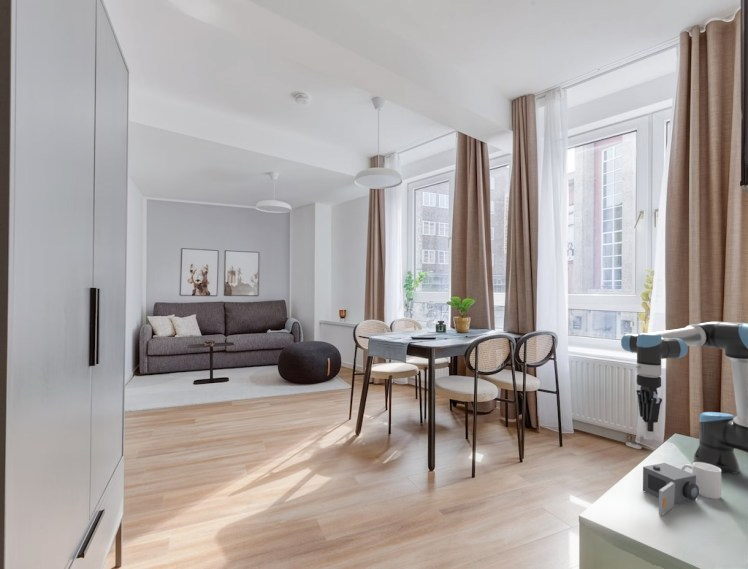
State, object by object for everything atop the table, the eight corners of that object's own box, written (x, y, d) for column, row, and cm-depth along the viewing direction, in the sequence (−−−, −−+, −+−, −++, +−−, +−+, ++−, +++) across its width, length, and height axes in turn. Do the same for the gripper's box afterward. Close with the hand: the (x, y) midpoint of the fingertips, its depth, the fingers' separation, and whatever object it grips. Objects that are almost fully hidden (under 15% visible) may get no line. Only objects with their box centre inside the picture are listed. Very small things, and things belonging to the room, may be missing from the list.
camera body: (664, 486, 155) (664, 460, 155) (702, 503, 142) (703, 475, 142) (642, 490, 150) (642, 464, 150) (680, 508, 138) (680, 480, 138)
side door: (658, 514, 134) (658, 490, 134) (671, 504, 140) (671, 481, 140) (664, 516, 132) (664, 492, 132) (676, 506, 139) (677, 483, 139)
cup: (717, 501, 144) (717, 473, 144) (677, 488, 153) (677, 461, 154) (723, 495, 149) (724, 468, 149) (684, 482, 158) (684, 456, 158)
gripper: (629, 371, 154) (628, 432, 154) (647, 378, 142) (646, 445, 141) (650, 372, 153) (649, 433, 153) (670, 379, 140) (670, 446, 140)
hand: (648, 439), depth 147 cm, fingers closed
